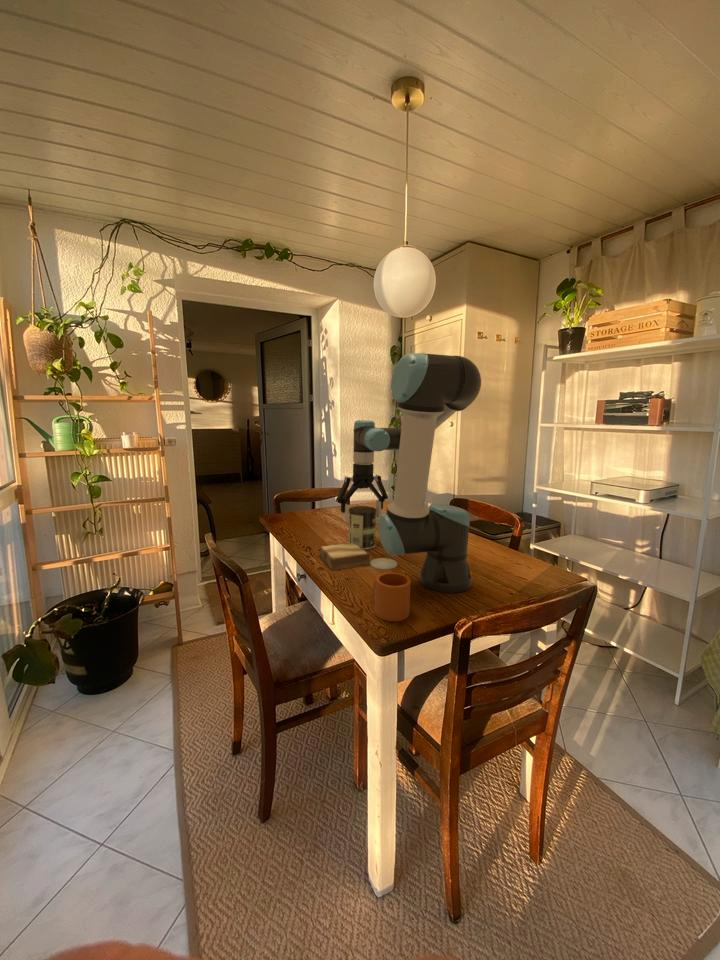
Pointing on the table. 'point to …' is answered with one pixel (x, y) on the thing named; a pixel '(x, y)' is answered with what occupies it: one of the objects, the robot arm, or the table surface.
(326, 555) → the block
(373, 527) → the coffee can
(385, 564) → the felt coaster
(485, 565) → the table surface
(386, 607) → the mug
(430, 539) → the robot arm
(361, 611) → the table surface
